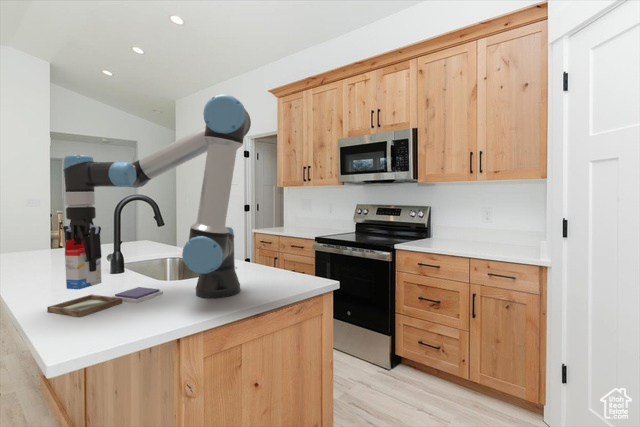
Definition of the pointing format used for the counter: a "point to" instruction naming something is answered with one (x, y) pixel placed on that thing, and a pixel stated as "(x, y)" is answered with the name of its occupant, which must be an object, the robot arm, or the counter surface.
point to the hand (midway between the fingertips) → (84, 280)
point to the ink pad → (138, 294)
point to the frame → (84, 305)
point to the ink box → (78, 266)
